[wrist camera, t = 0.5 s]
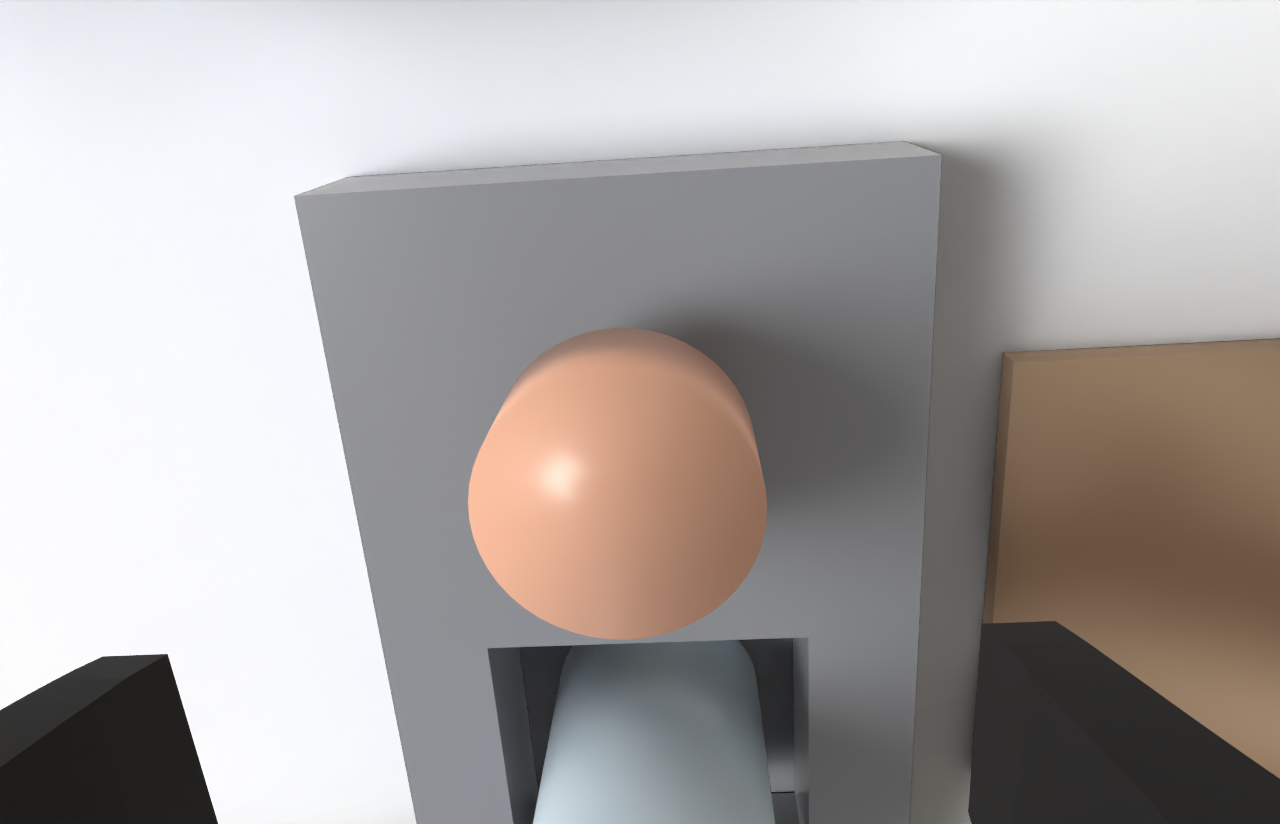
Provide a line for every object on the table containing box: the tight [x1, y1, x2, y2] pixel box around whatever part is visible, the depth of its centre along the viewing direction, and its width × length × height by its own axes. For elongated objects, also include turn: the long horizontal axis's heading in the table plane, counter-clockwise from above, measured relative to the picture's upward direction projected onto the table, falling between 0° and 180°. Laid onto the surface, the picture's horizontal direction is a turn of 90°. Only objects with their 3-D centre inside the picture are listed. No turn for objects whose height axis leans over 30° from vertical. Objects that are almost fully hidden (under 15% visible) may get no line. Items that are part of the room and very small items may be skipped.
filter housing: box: [294, 141, 942, 824], centre depth 18 cm, size 16×10×2 cm, turn 4°
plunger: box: [468, 328, 767, 640], centre depth 13 cm, size 4×4×2 cm
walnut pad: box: [971, 339, 1280, 778], centre depth 19 cm, size 10×8×1 cm
